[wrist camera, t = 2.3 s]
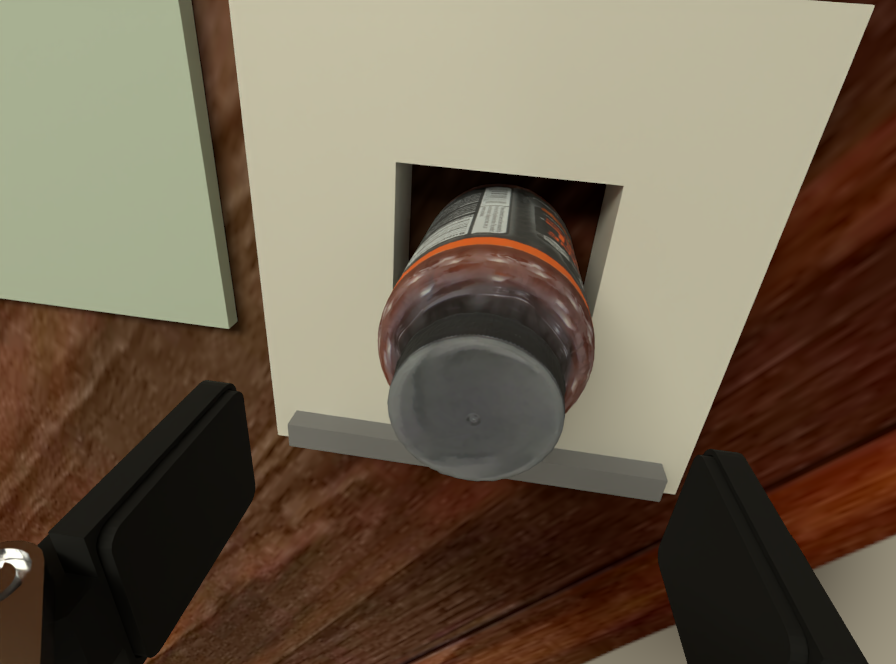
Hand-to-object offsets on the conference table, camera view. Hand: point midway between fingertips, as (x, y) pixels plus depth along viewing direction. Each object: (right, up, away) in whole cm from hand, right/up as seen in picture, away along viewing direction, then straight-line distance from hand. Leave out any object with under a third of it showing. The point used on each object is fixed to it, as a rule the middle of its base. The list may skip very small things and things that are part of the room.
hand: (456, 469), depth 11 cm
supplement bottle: (+2, +6, +11) cm, 13 cm away
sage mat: (-17, +10, +11) cm, 23 cm away
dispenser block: (+2, +6, +10) cm, 12 cm away
